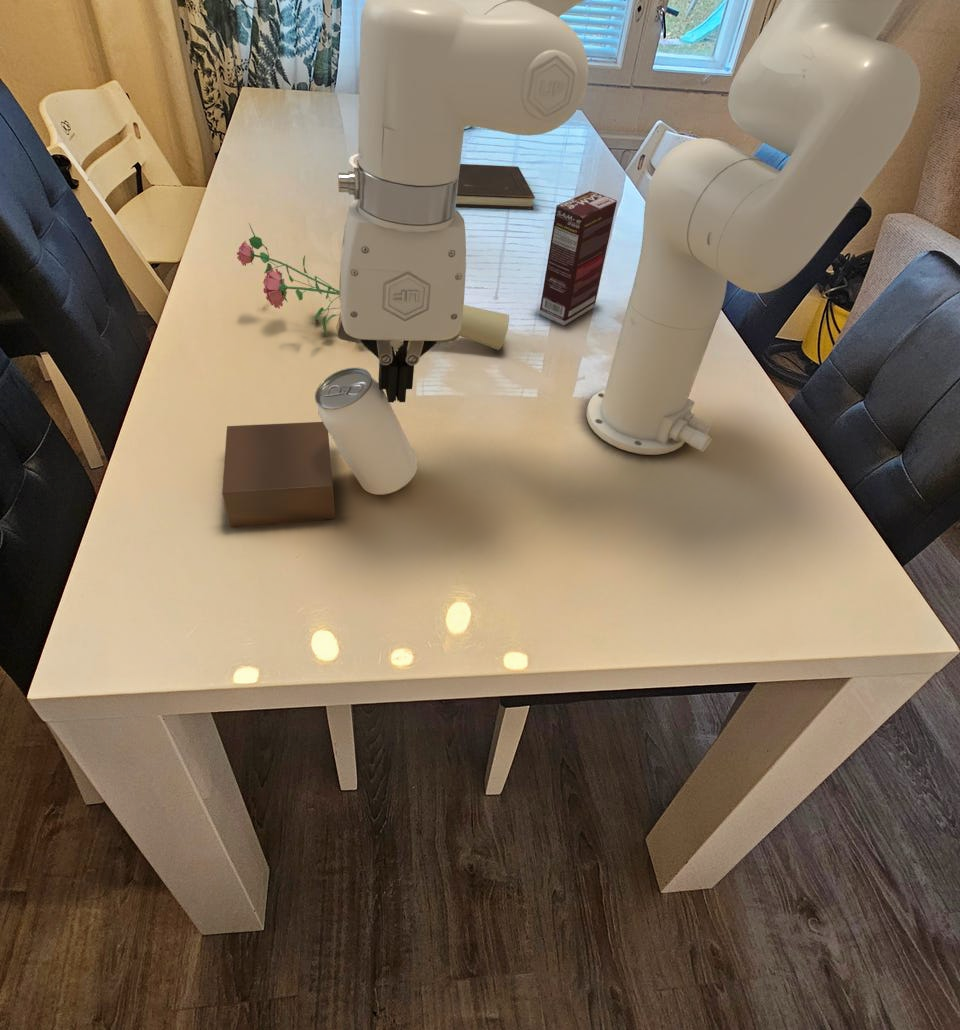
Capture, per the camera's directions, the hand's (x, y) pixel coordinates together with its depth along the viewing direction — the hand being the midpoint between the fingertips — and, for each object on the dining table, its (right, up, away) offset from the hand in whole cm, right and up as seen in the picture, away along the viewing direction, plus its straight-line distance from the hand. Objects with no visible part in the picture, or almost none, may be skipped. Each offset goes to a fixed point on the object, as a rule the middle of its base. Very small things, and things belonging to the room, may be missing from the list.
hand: (394, 393), depth 66 cm
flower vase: (-6, +13, +29) cm, 32 cm away
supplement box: (+21, +19, +38) cm, 48 cm away
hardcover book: (+5, +50, +68) cm, 85 cm away
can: (-1, -7, +8) cm, 11 cm away
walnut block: (-12, -9, +6) cm, 16 cm away
